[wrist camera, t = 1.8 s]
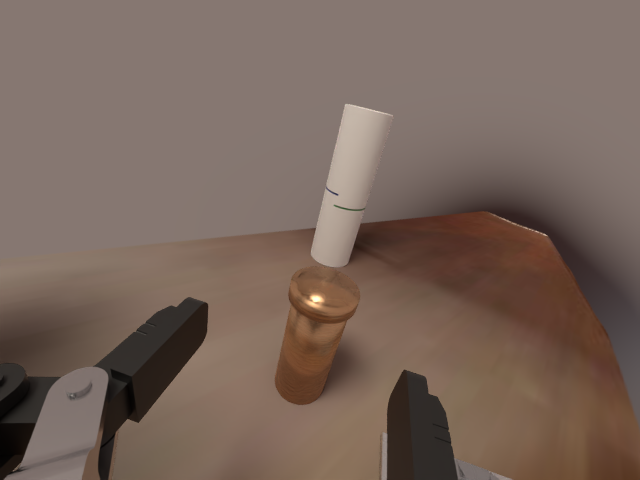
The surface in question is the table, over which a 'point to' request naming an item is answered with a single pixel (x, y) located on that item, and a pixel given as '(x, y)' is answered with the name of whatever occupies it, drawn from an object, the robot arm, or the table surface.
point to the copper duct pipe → (313, 331)
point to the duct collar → (468, 474)
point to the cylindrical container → (349, 183)
